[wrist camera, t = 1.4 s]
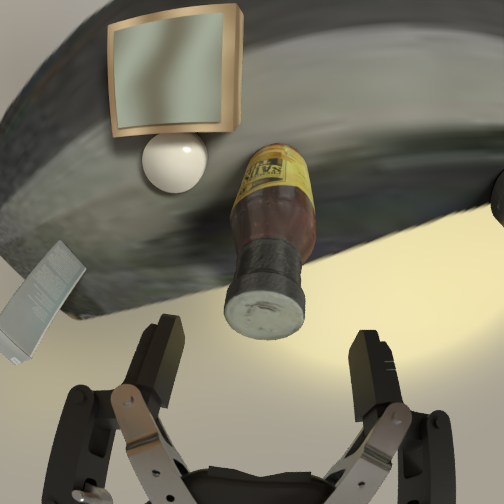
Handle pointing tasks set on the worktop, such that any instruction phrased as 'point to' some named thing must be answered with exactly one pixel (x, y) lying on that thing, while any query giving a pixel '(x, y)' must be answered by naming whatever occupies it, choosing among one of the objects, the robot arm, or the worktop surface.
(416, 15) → the worktop surface
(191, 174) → the white round dome
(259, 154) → the sauce bottle
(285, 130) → the worktop surface
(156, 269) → the worktop surface
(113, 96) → the plinth
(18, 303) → the hard drive box
